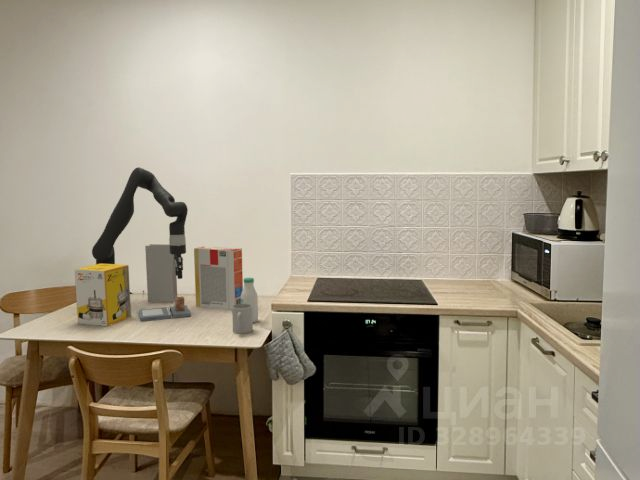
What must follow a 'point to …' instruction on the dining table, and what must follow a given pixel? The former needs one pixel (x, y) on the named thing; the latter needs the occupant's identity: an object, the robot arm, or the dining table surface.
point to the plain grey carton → (160, 274)
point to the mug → (242, 318)
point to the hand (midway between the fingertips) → (179, 277)
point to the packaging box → (102, 294)
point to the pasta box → (218, 277)
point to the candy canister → (250, 297)
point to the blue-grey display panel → (154, 314)
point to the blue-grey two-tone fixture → (180, 308)
